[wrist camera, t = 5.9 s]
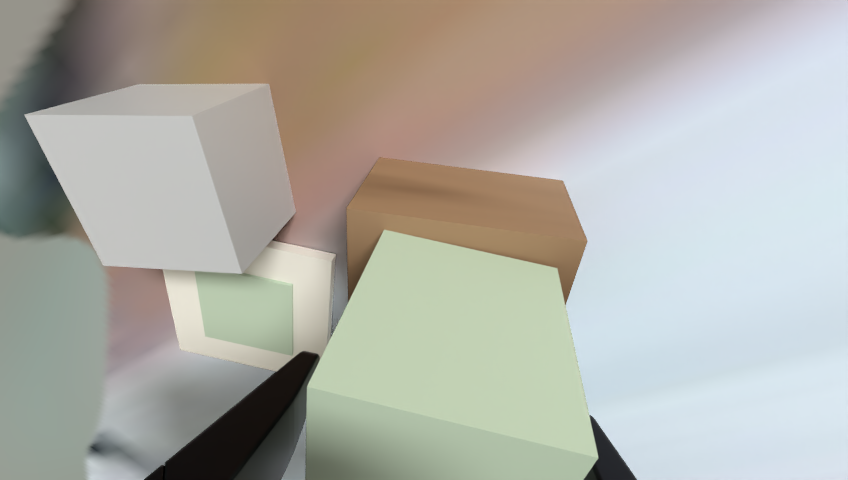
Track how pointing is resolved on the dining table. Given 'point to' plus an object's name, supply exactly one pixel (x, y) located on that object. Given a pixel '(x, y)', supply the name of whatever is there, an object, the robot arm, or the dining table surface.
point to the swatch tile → (257, 307)
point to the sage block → (449, 373)
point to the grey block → (172, 173)
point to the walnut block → (466, 215)
